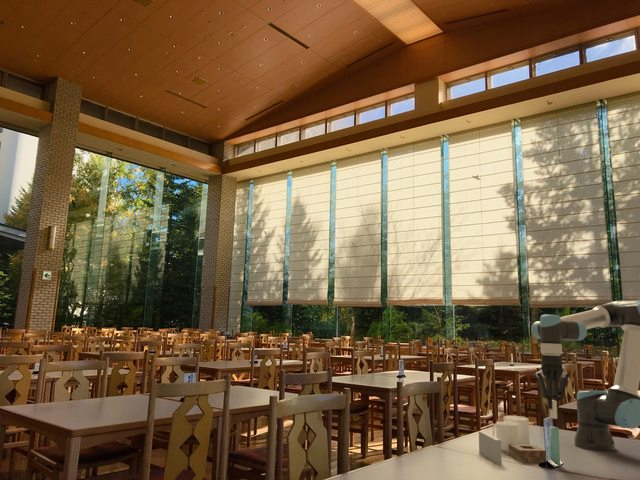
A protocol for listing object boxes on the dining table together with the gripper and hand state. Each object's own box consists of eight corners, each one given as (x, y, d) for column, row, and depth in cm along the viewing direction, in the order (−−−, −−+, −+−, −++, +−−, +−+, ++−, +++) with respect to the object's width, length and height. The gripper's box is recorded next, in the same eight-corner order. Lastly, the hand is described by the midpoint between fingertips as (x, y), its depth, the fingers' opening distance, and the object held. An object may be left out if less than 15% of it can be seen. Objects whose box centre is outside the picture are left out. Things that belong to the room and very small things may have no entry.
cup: (507, 452, 200) (507, 425, 202) (485, 445, 211) (485, 420, 213) (523, 451, 204) (522, 424, 205) (500, 444, 214) (500, 419, 216)
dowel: (557, 464, 185) (555, 426, 187) (561, 466, 182) (560, 428, 184) (549, 464, 185) (547, 426, 187) (553, 466, 182) (552, 428, 184)
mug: (501, 439, 226) (500, 413, 228) (525, 440, 224) (524, 415, 226) (506, 445, 213) (505, 419, 215) (532, 447, 211) (531, 420, 213)
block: (533, 455, 197) (533, 444, 198) (547, 462, 187) (546, 450, 188) (508, 455, 196) (508, 444, 197) (520, 461, 186) (520, 450, 187)
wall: (484, 452, 199) (483, 431, 200) (501, 463, 183) (501, 440, 184) (479, 452, 198) (478, 431, 200) (496, 463, 183) (495, 440, 184)
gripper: (562, 355, 203) (564, 416, 199) (530, 353, 202) (532, 415, 198) (572, 356, 196) (575, 420, 192) (539, 354, 195) (541, 419, 191)
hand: (553, 418), depth 195 cm, fingers closed
